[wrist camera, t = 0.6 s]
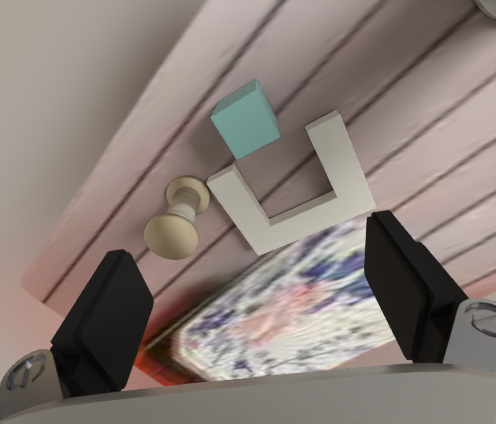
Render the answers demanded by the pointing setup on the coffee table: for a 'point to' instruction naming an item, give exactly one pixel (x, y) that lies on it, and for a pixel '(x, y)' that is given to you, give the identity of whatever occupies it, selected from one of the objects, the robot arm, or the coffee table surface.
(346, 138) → the notched board
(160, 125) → the coffee table surface
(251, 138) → the block
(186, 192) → the bobbin
